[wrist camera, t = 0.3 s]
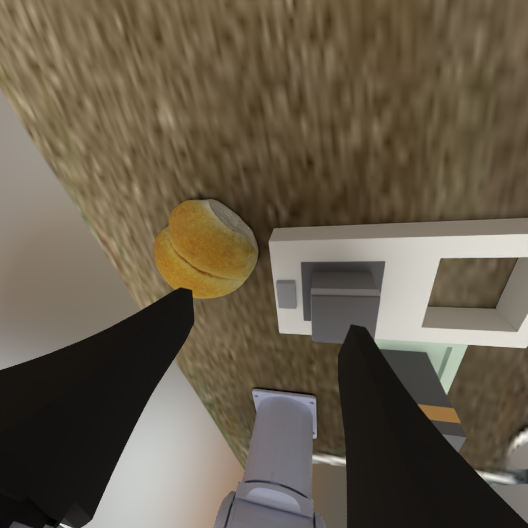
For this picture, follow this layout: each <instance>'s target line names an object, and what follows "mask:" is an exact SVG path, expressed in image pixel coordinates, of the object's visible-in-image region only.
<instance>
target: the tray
mask: <svg viewBox="0 0 528 528" xmlns="http://www.w3.org/2000/svg"><path fill="white" fill-rule="evenodd" d="M374 341H375V343H376V344H377V346H378V348H379V349H387V350H402V351H416V352H427V354H428V357H429V359H430V361H431V363H432V365H433V367H434V369H435V372H436V374H437V376H438V378H439V380H440V382H441V384H442V386H443V389H444V391H445V393H446V395H447V393H448V391H449V388H450V386H451V384H452V381H453V379H454V377H455V374H456V372H457V369H458V367H459V365H460V362H461V360H462V358H463V355H464V353H465V351H466V348H467V346H468V345H467V344H450V343H434V342H418V341H401V340H385V339H374Z"/></svg>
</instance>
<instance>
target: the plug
mask: <svg viewBox="0 0 528 528" xmlns="http://www.w3.org/2000/svg"><path fill="white" fill-rule="evenodd" d="M380 351H381V352H382V354H383V356H384V357H385V359H386V360H387V362H388V363H389V365H390V366H391V368H392V369H393V371H394V372H395V374H396V375H397V377H398V378H399V380H400V381H401V383H402V384H403V385H404V387H405V388H406V390H407V391H408V392H409V394H410V395H411V396H412V398H413V399H414V400H415V402H416V403H417V404H418V406H419V407H420V408H421V409H422V411H423V412H424V413H425V414H426V416H427V417H428V418H429V419H430V421H431V422H432V423H433V424H434V425H435V427H436V428H437V429H438V430H439V431H440V433H441V434H442V435H443V436H444V437H445V438H446V440H447V441H448V442H449V443H450V444H451V445H452V446H453V447H454V449H455V450H456V451H457V452H458V451H459V450H460V448H461V446H462V444H463V443H464V441H465V439H466V435H465V433H464V431H463V429H462V427H461V425H460V423H461V422H460V420H459V418H458V416H457V414H456V412H455V410H454V408H452V406H451V403H450V401H449V399H448V397H447V395H446V393H445V391H444V389H443V386H442V384H441V382H440V380H439V378H438V376H437V374H436V372H435V369H434V367H433V365H432V363H431V361H430V359H429V357H428V354H427V352H416V351H402V350H387V349H380Z"/></svg>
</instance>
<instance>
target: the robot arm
mask: <svg viewBox="0 0 528 528" xmlns="http://www.w3.org/2000/svg"><path fill="white" fill-rule="evenodd" d="M193 324H194V308H193V293H192V290H191V289H186V288H181V287H179V288H178V289H176V290H174V291H173V292H171V293H169V294H168V295H166V296H164V297H163V298H161V299H159V300H158V301H156V302H155V303H153V304H151V305H149V306H148V307H146V308H144V309H143V310H141V311H139V312H138V313H136V314H134V315H132V316H131V317H128V318H127V319H125V320H123V321H121V322H119V323H117V324H115V325H114V326H112V327H110V328H108V329H106V330H104V331H101V332H99V333H97V334H95V335H93V336H91V337H88V338H86V339H84V340H82V341H80V342H77V343H74V344H72V345H70V346H67V347H64V348H62V349H59V350H57V351H54V352H52V353H49V354H47V355H44V356H41V357H39V358H35V359H33V360H30V361H27V362H24V363H21V364H18V365H15V366H12V367H9V368H6V369H2V370H0V528H43V527H44V526H45V524H46V525H48V526H51V527H54V528H56V527H58V526H59V524H60V523H62V524H65V525H67V526H70V527H73V528H81V527H83V526H84V525H86V524H87V523H88V522H90V521H91V520H92V518H93V516H94V514H95V512H96V509H97V507H98V505H99V502H100V500H101V498H102V496H103V493H104V491H105V489H106V486H107V484H108V482H109V480H110V477H111V475H112V473H113V471H114V469H115V466H116V464H117V462H118V460H119V458H120V456H121V454H122V452H123V450H124V447H125V445H126V443H127V441H128V439H129V437H130V435H131V433H132V431H133V429H134V427H135V425H136V423H137V421H138V419H139V417H140V415H141V413H142V412H143V410H144V407H145V406H146V404H147V401H148V400H149V398H150V396H151V394H152V393H153V391H154V389H155V388H156V386H157V384H158V383H159V381H160V380H161V378H162V377H163V375H164V373H165V372H166V371H167V369H168V367H169V366H170V364H171V363H172V361H173V360H174V358H175V357H176V355H177V354H178V352H179V350H180V349H181V347H182V346H183V344H184V342H185V341H186V339H187V337H188V335H189V333H190V330H191V328H192V326H193ZM338 382H339V391H340V400H341V408H342V417H343V425H344V433H345V445H346V471H347V528H528V524H527V523H526V522H525V521H524V520H523V519H522V518H521V517H520V516H519V515H518V514H517V513H516V512H515V511H514V510H513V509H512V508H511V507H510V506H509V505H508V504H507V503H506V502H505V501H504V500H503V499H502V498H501V497H500V496H499V495H498V494H497V493H496V492H495V491H494V490H493V489H492V488H491V487H490V486H489V485H488V484H487V483H486V482H485V481H484V480H483V479H482V478H481V477H480V476H479V474H478V473H477V472H476V471H475V470H474V469H473V468H472V467H471V466H470V465H469V464H468V463H467V462H466V461H465V459H464V458H463V457H462V456H461V455H460V454H459V453H458V452H457V451H456V450H455V449H454V447H453V446H452V445H451V444H450V443H449V442H448V441H447V440H446V438H445V437H444V436H443V435H442V434H441V433H440V431H439V430H438V429H437V428H436V427H435V425H434V424H433V423H432V422H431V421H430V419H429V418H428V417H427V416H426V414H425V413H424V412H423V411H422V409H421V408H420V407H419V406H418V404H417V403H416V402H415V400H414V399H413V398H412V396H411V395H410V394H409V392H408V391H407V390H406V388H405V387H404V385H403V384H402V383H401V381H400V380H399V378H398V377H397V375H396V374H395V372H394V371H393V369H392V368H391V366H390V365H389V363H388V362H387V360H386V359H385V357H384V356H383V354H382V352H381V351H380V349H379V348H378V346H377V344H376V343H375V341H374V340H373V338H372V336H371V335H370V333H369V331H368V330H367V328H366V327H363V326H358V325H353V324H351V325H350V328H349V330H348V333H347V335H346V338H345V340H344V342H343V345H342V347H341V350H340V352H339V355H338ZM252 395H253V399H254V404H255V408H256V412H257V415H256V420H255V424H254V429H253V434H252V438H251V443H250V448H249V452H248V457H247V462H246V466H245V471H244V476H243V480H242V482H238V486H237V491H236V492H234V491H231V492H230V493H229V494H228V495H227V496H226V497H225V498H224V500H223V501H222V503H221V506H220V508H219V511H218V514H217V517H216V521H215V524H214V528H326V525H325V523H324V521H323V519H322V518H321V515H320V514H319V513H316V512H315V513H314V517H313V510H314V508H313V506H314V503H313V502H314V501H313V500H312V498H311V497H312V450H313V439H315V438H317V419H316V397H315V396H313V395H305V394H296V393H288V392H279V391H271V390H262V389H253V390H252Z"/></svg>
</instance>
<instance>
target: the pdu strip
mask: <svg viewBox="0 0 528 528" xmlns="http://www.w3.org/2000/svg"><path fill="white" fill-rule="evenodd" d="M269 249H270V257H271V266H272V274H273V282H274V290H275V299H276V307H277V315H278V324H279V332H280V333H287V334H303V335H312V341H313V342H325V343H340V344H343V342H344V340H345V338H346V335H347V333H348V330H349V328H350V325H351V324H353V325H358V326H363V327H366V328H367V330H368V331H369V333H370V335H371V336H372V338H373V340H374V339H385V340H401V341H418V342H434V343H450V344H467V345H483V346H500V347H516V348H526V347H527V346H528V218H511V219H487V220H462V221H438V222H414V223H389V224H365V225H341V226H316V227H292V228H274V230H273V232H272V234H271V237H270V239H269ZM496 257H519V258H518V260H517V262H516V264H515V266H514V269H513V271H512V273H511V275H510V277H509V280H508V282H507V284H506V286H505V288H504V291H503V293H502V295H501V297H500V299H499V301H498V304H497V306H496V308H495V309H489V308H456V307H427V305H428V301H429V298H430V294H431V290H432V287H433V283H434V279H435V276H436V272H437V268H438V265H439V261H440V258H496Z"/></svg>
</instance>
